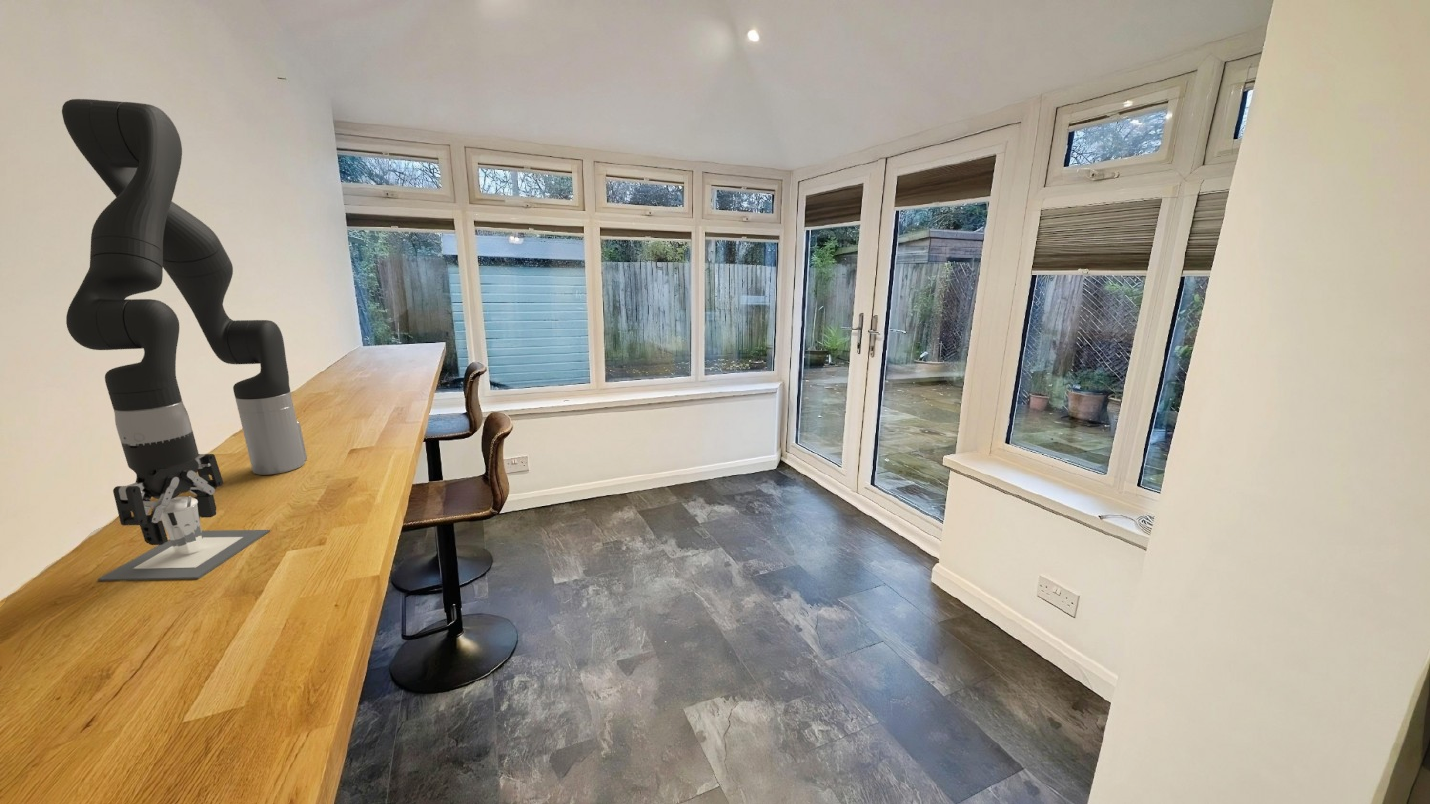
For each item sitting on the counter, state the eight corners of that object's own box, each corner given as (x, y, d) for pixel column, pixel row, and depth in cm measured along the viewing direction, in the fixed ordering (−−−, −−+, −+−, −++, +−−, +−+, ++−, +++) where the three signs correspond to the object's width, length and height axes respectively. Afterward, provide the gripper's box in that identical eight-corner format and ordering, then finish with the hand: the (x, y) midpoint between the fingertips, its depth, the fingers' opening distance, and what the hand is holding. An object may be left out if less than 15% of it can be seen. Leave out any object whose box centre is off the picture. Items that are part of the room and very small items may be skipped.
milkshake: (188, 560, 81) (172, 502, 78) (162, 556, 82) (145, 498, 79) (221, 545, 85) (206, 490, 83) (195, 541, 86) (180, 486, 84)
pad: (185, 532, 90) (184, 530, 90) (270, 531, 91) (269, 529, 91) (97, 580, 76) (97, 578, 76) (198, 579, 77) (198, 576, 77)
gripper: (175, 419, 85) (199, 509, 89) (77, 450, 71) (112, 554, 75) (223, 419, 85) (245, 508, 89) (135, 450, 71) (166, 553, 76)
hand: (184, 529), depth 82 cm, fingers open, 8 cm apart
